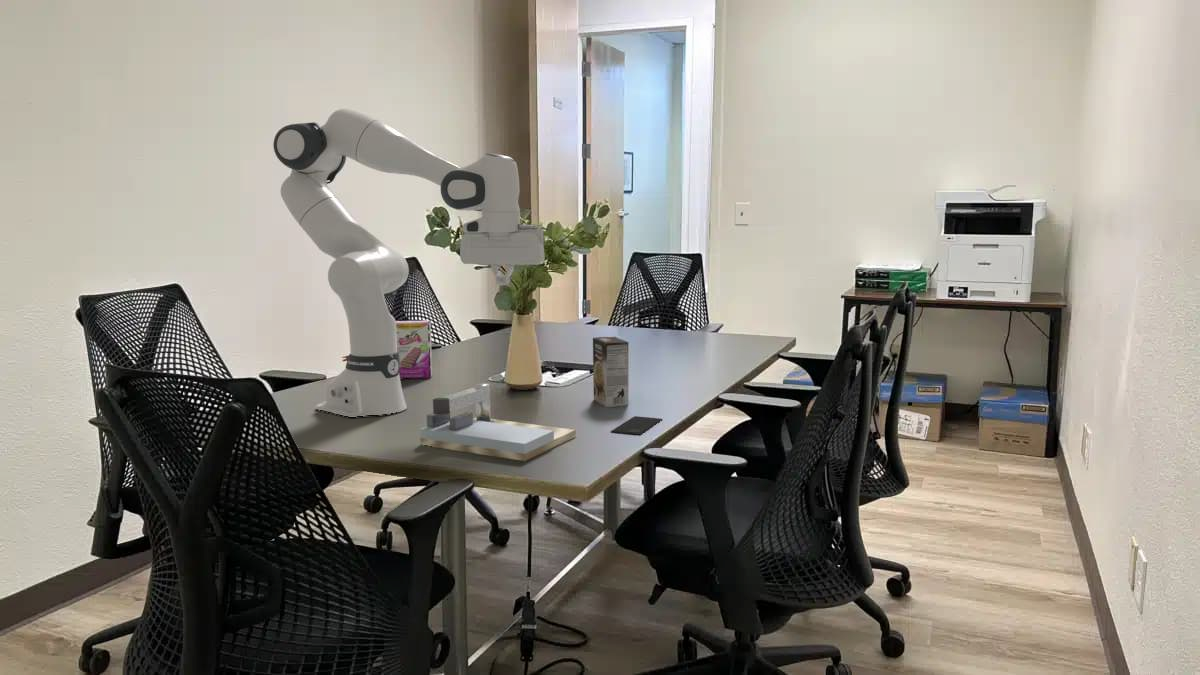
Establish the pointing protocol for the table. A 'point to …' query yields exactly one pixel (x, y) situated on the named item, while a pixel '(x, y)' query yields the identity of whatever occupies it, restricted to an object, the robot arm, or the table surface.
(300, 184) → the robot arm
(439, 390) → the table surface
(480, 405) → the lock bar
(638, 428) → the smartphone
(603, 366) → the coffee box
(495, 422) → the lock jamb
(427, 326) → the candy bar box
